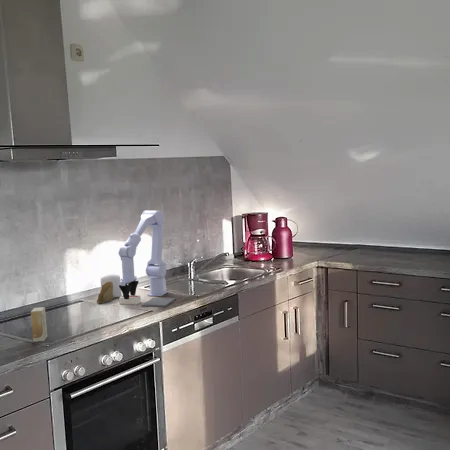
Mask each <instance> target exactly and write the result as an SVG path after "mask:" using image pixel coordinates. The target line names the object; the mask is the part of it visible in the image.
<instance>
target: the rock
mask: <svg viewBox="0 0 450 450" xmlns="http://www.w3.org/2000/svg"><path fill="white" fill-rule="evenodd" d="M113 300H114V298H113V283H112V282H111V281H110V282H106V283H105V284H104V285H102V289H101V288H100V292H99V293H98V297H97V300H96V303H97V304H103V303H106V302H110V301H113Z"/></svg>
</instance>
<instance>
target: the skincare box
mask: <svg viewBox="0 0 450 450" xmlns="http://www.w3.org/2000/svg"><path fill="white" fill-rule="evenodd" d="M30 319H31V320H30V321H31V322H30V323H31V331H32V332H31V333H32V342H36V343H37V342H45V341H46V340H47V337H48V329H47V316H46V308H45V307H44V306H41V307H33V308H32V310H31V311H30Z"/></svg>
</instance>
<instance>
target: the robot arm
mask: <svg viewBox="0 0 450 450" xmlns="http://www.w3.org/2000/svg"><path fill="white" fill-rule="evenodd" d="M164 215H165V214H164V213H163V212H162V211H161V210H159V209H158V210H148V209H147V210H143V212H142V213H141V215H140V221H139V223H138V225H137V227H136V229H135V231H134V232H133V233H130V234H129V237H128V238H127V240H126V242H125V243H124V245H122V246H121V247H120V248H119V250H118V256H119V258H120V261H121V270H122V278H120V282H121V285H119V288H120V289H121V294H122V296H124V299H129V295H136V292H137V288H138V284H139V283H140V282H139V280H137V276H136V275H135V263H134V262H135V261H134V257H135V256H136V253H137V247H138V246H139V244H140V242H141V241H142V235H143V233H144V232H145V231H146V230H147V228H148V226H149V227H151V229H152V235H151V236H152V237H151V238H152V240H151V253H150V254H151V256H150V259H149V260H148V261H147V264H146V267H145V274H146V276H147V277H148V279H149V292H150V293H149V294H147V297H148V296H149V297H162V296H164V295H165V294H167V293H168V292H169V291H168V290H167V282H166V281H167V280H166V278H165V276H166V275H167V267H166V265H167V263H166V261H164V260H163V258H162V257H163V243H164V242H163V240H164V219H165V218H164Z"/></svg>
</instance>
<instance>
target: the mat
mask: <svg viewBox="0 0 450 450" xmlns="http://www.w3.org/2000/svg"><path fill="white" fill-rule="evenodd" d="M175 301H176V298H169V297H167V298H166V297H165V298H161V297H158V298H157V297H156V298H155V297H152V298H150V299H149V300H147V301H145V302H143V303H142V304H141V307H146V308H147V307H150V308H151V307H153V308H155V307H156V308H158V307H159V308H160V307H164V308H165V307H168V306H169V305H171V304H172V303H174V302H175Z"/></svg>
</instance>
